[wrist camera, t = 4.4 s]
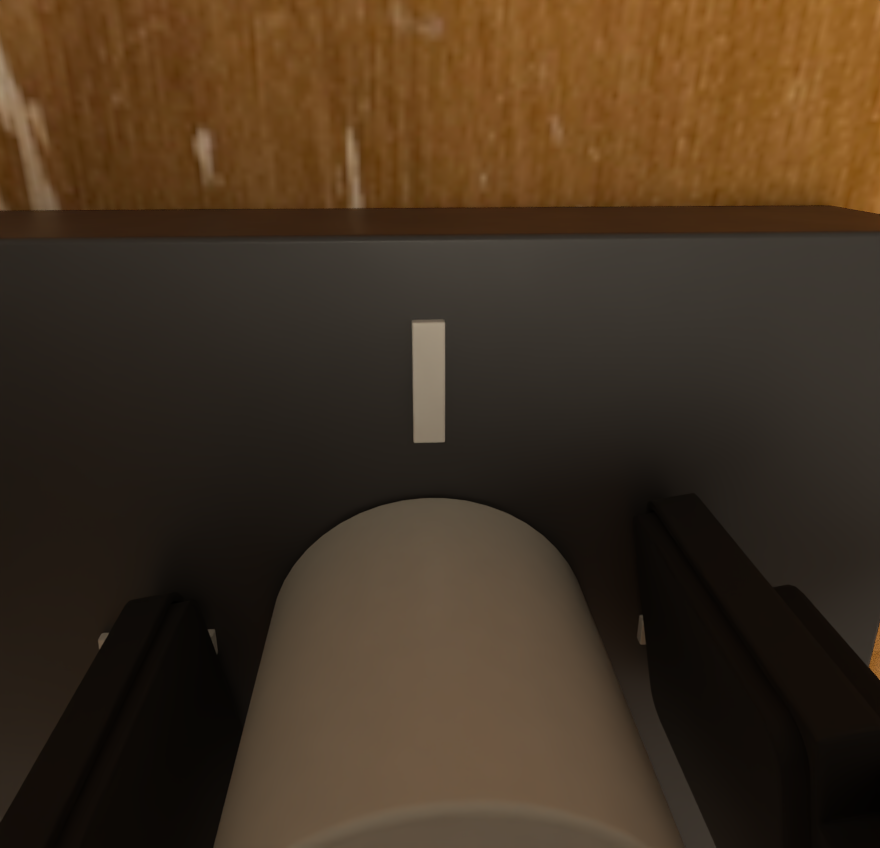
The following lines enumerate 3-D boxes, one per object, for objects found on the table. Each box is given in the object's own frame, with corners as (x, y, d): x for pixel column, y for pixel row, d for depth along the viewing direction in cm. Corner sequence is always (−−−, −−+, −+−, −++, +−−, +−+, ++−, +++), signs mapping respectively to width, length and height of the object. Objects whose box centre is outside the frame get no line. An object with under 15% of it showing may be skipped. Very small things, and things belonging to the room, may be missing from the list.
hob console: (99, 771, 14) (21, 940, 11) (-18, 210, 11) (-179, 242, 8) (737, 744, 15) (822, 897, 12) (832, 205, 11) (989, 232, 8)
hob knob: (290, 767, 10) (210, 1244, 6) (252, 504, 9) (110, 877, 5) (581, 746, 11) (717, 1199, 6) (590, 484, 9) (776, 824, 5)
